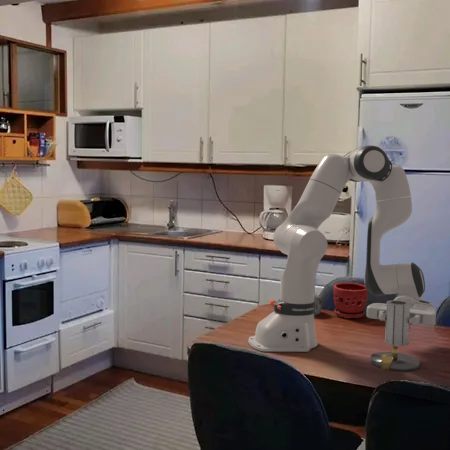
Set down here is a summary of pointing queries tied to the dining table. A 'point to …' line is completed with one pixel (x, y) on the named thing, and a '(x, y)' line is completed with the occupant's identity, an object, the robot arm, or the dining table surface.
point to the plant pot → (350, 299)
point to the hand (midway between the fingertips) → (396, 320)
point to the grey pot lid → (394, 361)
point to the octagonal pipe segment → (397, 322)
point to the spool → (317, 304)
